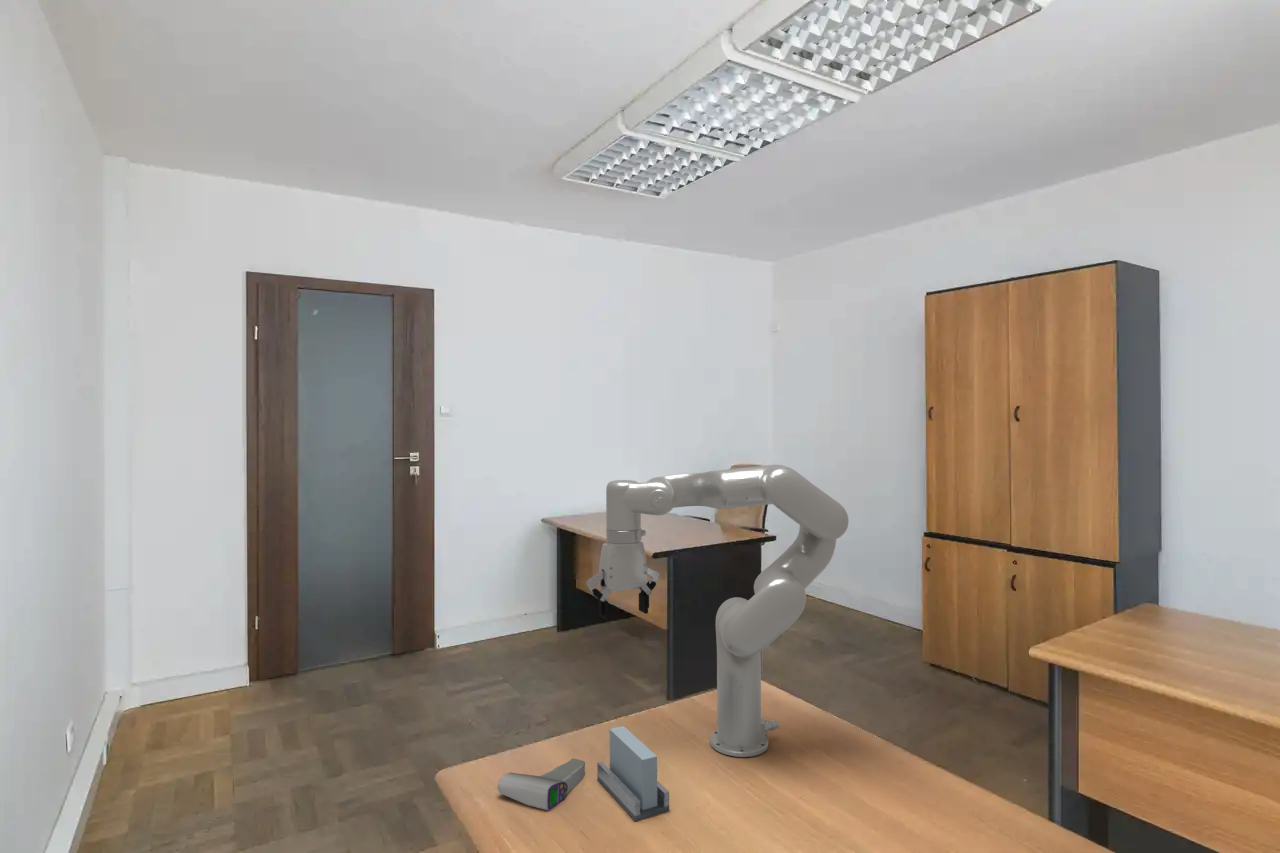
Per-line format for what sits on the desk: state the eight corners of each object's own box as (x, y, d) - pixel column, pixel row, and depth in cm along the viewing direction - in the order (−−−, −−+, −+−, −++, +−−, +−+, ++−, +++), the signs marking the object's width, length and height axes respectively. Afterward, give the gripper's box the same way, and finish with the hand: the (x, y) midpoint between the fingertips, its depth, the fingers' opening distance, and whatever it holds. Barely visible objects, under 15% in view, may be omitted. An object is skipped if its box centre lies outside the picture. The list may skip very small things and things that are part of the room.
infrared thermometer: (589, 780, 137) (551, 815, 123) (537, 769, 142) (494, 800, 128) (590, 757, 137) (551, 788, 124) (538, 746, 142) (495, 775, 128)
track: (597, 780, 135) (597, 762, 135) (629, 771, 138) (628, 754, 138) (635, 821, 121) (634, 802, 121) (669, 811, 124) (669, 791, 124)
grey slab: (609, 774, 135) (609, 729, 135) (623, 770, 136) (623, 725, 136) (642, 810, 123) (642, 760, 123) (657, 805, 124) (657, 756, 124)
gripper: (650, 531, 157) (650, 605, 157) (580, 537, 149) (580, 616, 149) (666, 536, 151) (666, 613, 151) (594, 543, 142) (594, 625, 143)
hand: (623, 615), depth 150 cm, fingers open, 9 cm apart
